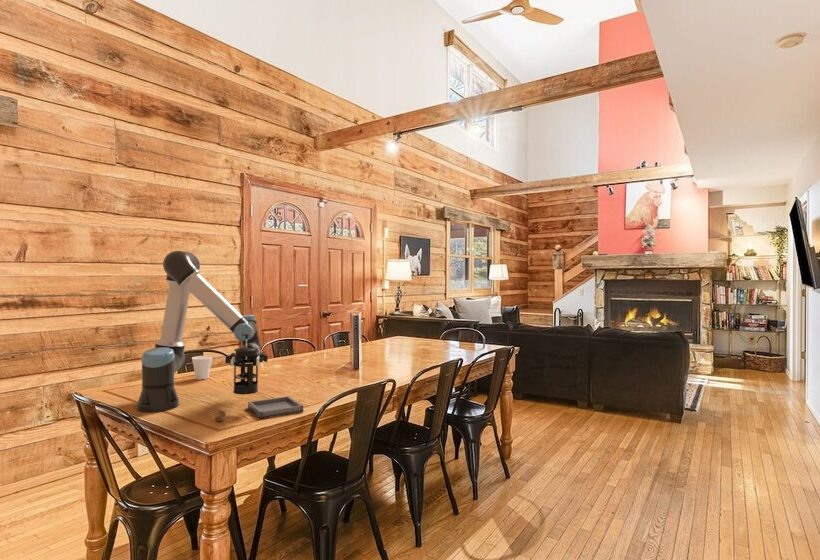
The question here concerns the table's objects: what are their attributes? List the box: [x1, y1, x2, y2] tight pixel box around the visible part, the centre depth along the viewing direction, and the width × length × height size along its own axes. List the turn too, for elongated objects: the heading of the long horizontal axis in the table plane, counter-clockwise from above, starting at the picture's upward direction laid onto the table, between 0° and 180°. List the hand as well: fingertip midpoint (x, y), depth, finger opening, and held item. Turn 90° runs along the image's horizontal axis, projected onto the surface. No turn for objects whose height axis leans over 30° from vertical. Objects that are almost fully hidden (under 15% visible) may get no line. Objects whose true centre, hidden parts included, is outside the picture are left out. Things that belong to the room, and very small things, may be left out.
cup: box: [191, 355, 214, 381], centre depth 247 cm, size 10×10×11 cm
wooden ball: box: [214, 409, 227, 422], centre depth 178 cm, size 4×4×4 cm
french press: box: [232, 334, 259, 396], centre depth 190 cm, size 12×9×23 cm
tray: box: [247, 395, 304, 419], centre depth 193 cm, size 17×17×2 cm
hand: (244, 362), depth 185 cm, fingers closed on french press, 9 cm apart
